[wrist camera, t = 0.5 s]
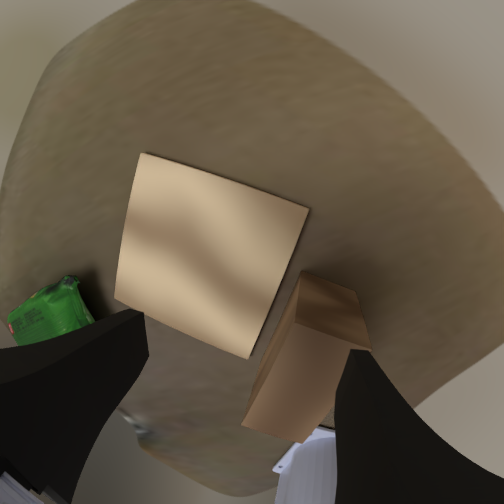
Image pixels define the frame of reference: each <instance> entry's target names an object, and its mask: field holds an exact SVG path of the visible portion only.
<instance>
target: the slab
mask: <svg viewBox="0 0 504 504" xmlns="http://www.w3.org/2000/svg"><path fill="white" fill-rule="evenodd" d="M350 349H359V350H368V351H369V352H370V353H371V351H372V347H371V343H370V339H369V335H368V332H367V328H366V325H365V321H364V318H363V314H362V311H361V307H360V304H359V301H358V298H357V294H356V291H353V290H350V289H348V288H345V287H343V286H340V285H337V284H335V283H332V282H330V281H327V280H325V279H322V278H319V277H317V276H314V275H312V274H309V273H306V272H304V271H301V272H300V275H299V277H298V280H297V282H296V284H295V287H294V289H293V291H292V294H291V296H290V298H289V300H288V303H287V305H286V307H285V309H284V312H283V314H282V316H281V318H280V321H279V323H278V325H277V327H276V330H275V332H274V334H273V336H272V338H271V340H270V343H269V345H268V347H267V349H266V351H265V353H264V356H263V358H262V360H261V363H260V366H259V369H258V373H257V376H256V379H255V382H254V386H253V389H252V392H251V395H250V399H249V402H248V405H247V408H246V411H245V414H244V417H243V420H242V423H241V425H242V426H245V427H248V428H251V429H254V430H257V431H260V432H263V433H266V434H269V435H272V436H275V437H279V438H282V439H286V440H289V441H293V442H296V443H300V444H303V443H304V442H305V440H306V439H307V438H308V437H309V436H310V435H311V433H312V432H313V431H314V430H315V429H316V427H317V426H318V425H319V424H320V422H321V421H322V420H323V419H324V417H325V416H326V415H327V414H328V412H329V411H330V410H331V408H332V407H333V406H334V405H335V393H336V389H337V387H338V384H339V381H340V378H341V376H342V373H343V370H344V367H345V364H346V361H347V358H348V355H349V352H350Z"/></svg>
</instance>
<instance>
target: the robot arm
mask: <svg viewBox="0 0 504 504" xmlns="http://www.w3.org/2000/svg"><path fill="white" fill-rule="evenodd" d="M148 357H149V351H148V344H147V337H146V329H145V320H144V312H141V311H137V310H133V309H127V310H123V311H121V312H118V313H115V314H113V315H111V316H108V317H106V318H103V319H101V320H98V321H96V322H94V323H91V324H89V325H86V326H84V327H82V328H79V329H76V330H73V331H71V332H68V333H65V334H63V335H60V336H57V337H54V338H51V339H47V340H44V341H40V342H36V343H32V344H28V345H22V346H16V347H11V348H4V349H0V504H45V503H43V502H42V501H40V500H39V499H38V498H37V497H35V496H34V495H33V494H31V493H30V492H29V490H30V489H32V490H33V491H35V492H36V493H37V494H39V495H40V494H41V493H42V494H44V495H45V496H46V497H48V498H49V499H51V500H52V501H54V502H55V503H56V504H71V502H72V498H73V495H74V491H75V489H76V486H77V482H78V480H79V477H80V474H81V472H82V469H83V467H84V464H85V462H86V460H87V458H88V455H89V453H90V451H91V449H92V447H93V445H94V443H95V441H96V439H97V437H98V435H99V433H100V431H101V430H102V428H103V426H104V424H105V423H106V421H107V420H108V418H109V417H110V415H111V414H112V413H113V411H114V410H115V409H116V407H117V406H118V404H119V403H120V402H121V400H122V399H123V398H124V396H125V395H126V394H127V392H128V391H129V389H130V388H131V387H132V385H133V384H134V382H135V381H136V380H137V378H138V377H139V375H140V373H141V371H142V369H143V367H144V365H145V363H146V361H147V359H148ZM334 422H335V430H331V429H327V428H323V427H319V426H317V427H316V429H315V430H314V431H313V432H312V433H311V435H310V436H309V437H308V438H307V439H306V440H305V442H304V443H303V444H300V443H296V442H295V443H294V444H293V445H292V446H291V448H290V449H289V450H288V451H287V452H286V453H285V454H284V456H283V457H282V458H281V459H280V460H279V461H278V462H277V463H276V465H275V466H274V467H273V471H274V472H277V473H280V478H279V483H278V488H277V493H276V499H275V503H274V504H504V478H501V477H499V476H497V475H495V474H493V473H491V472H489V471H487V470H485V469H484V468H482V467H480V466H479V465H477V464H476V463H474V462H472V461H471V460H469V459H468V458H466V457H465V456H463V455H462V454H461V453H459V452H458V451H457V450H455V449H454V448H453V447H452V446H450V445H449V444H448V443H447V442H445V441H444V440H443V439H442V438H441V437H440V436H439V435H437V434H436V433H435V432H434V431H433V430H432V429H431V428H430V427H429V426H428V425H427V424H426V423H425V422H424V421H423V420H422V419H421V418H420V417H419V416H418V415H417V414H416V412H415V411H414V410H413V409H412V408H411V406H410V405H409V404H408V403H407V402H406V401H405V399H404V398H403V397H402V396H401V394H400V393H399V392H398V391H397V389H396V388H395V387H394V385H393V384H392V383H391V381H390V380H389V379H388V377H387V376H386V375H385V373H384V372H383V370H382V369H381V368H380V366H379V365H378V363H377V362H376V361H375V359H374V358H373V356H372V355H371V354H370V352H369V351H368V350H359V349H350V352H349V355H348V358H347V361H346V364H345V367H344V370H343V373H342V376H341V378H340V381H339V384H338V387H337V389H336V393H335V411H334Z"/></svg>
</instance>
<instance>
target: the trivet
mask: <svg viewBox="0 0 504 504" xmlns="http://www.w3.org/2000/svg"><path fill="white" fill-rule="evenodd" d="M308 211H309V208H307V207H305V206H302V205H300V204H297V203H294V202H292V201H289V200H286V199H284V198H281V197H278V196H275V195H273V194H270V193H267V192H264V191H262V190H259V189H256V188H253V187H250V186H248V185H245V184H242V183H239V182H236V181H233V180H230V179H227V178H224V177H221V176H218V175H215V174H212V173H209V172H206V171H203V170H200V169H197V168H193V167H190V166H187V165H184V164H181V163H177V162H174V161H171V160H167V159H164V158H161V157H157V156H154V155H150V154H147V153H141V154H140V158H139V162H138V166H137V170H136V174H135V178H134V182H133V187H132V191H131V196H130V200H129V205H128V210H127V215H126V221H125V226H124V231H123V237H122V243H121V250H120V256H119V263H118V270H117V278H116V287H115V296H114V298H115V299H117V300H119V301H121V302H122V303H124V304H126V305H128V306H130V307H132V308H134V309H136V310H138V311H141V312H144V314H146V315H148V316H150V317H152V318H154V319H156V320H158V321H160V322H162V323H164V324H166V325H168V326H170V327H173V328H175V329H177V330H179V331H181V332H183V333H186V334H188V335H190V336H192V337H194V338H197V339H199V340H201V341H204V342H206V343H208V344H210V345H213V346H215V347H218V348H220V349H222V350H225V351H227V352H230V353H232V354H235V355H237V356H240V357H242V358H245V359H247V360H248V358H249V356H250V353H251V351H252V349H253V347H254V344H255V342H256V340H257V337H258V335H259V333H260V330H261V328H262V326H263V323H264V321H265V319H266V316H267V314H268V311H269V309H270V307H271V304H272V302H273V299H274V297H275V295H276V292H277V290H278V287H279V285H280V282H281V280H282V277H283V275H284V273H285V270H286V268H287V265H288V263H289V260H290V258H291V255H292V252H293V250H294V247H295V245H296V242H297V240H298V237H299V235H300V232H301V229H302V227H303V224H304V222H305V219H306V216H307V214H308Z"/></svg>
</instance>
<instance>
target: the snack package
mask: <svg viewBox="0 0 504 504" xmlns="http://www.w3.org/2000/svg"><path fill="white" fill-rule="evenodd" d="M75 280H76V281H75ZM78 283H80V282H79V281H78V278H77V277H76V276H72V275H68V276H65V277H63V278H62V280H61V281H59V282H58V283H55V284H52V285H49V286H46V287H44V288H42V289H41V290H39V291H38V292H36V293H35V294H34V295H32V296H31V297H30V298H28V299H27V300H26V301H25V302H24V303H23V304H21V305H20V306H19V307H17V308H16V309H14V310H13V311H12V312H11V313H10V314H9V316H8V326H9V329H10V332H11V334H12V336H13V337H14V339H15V341H16V343H17V344H18V346H22V345H28V344H32V343H36V342H40V341H44V340H47V339H51V338H54V337H57V336H60V335H63V334H65V333H68V332H71V331H73V330H76V329H79V328H82V327H84V326H86V325H89V324H91V323H94V322H96V321H95V320H94V318H93V317H92V315H91V314H90V312H89V310H88V309H87V307H86V305H85V303H84V301H83V300H82V298H81V296H80V294H79V290H78V287H77V284H78Z"/></svg>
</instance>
